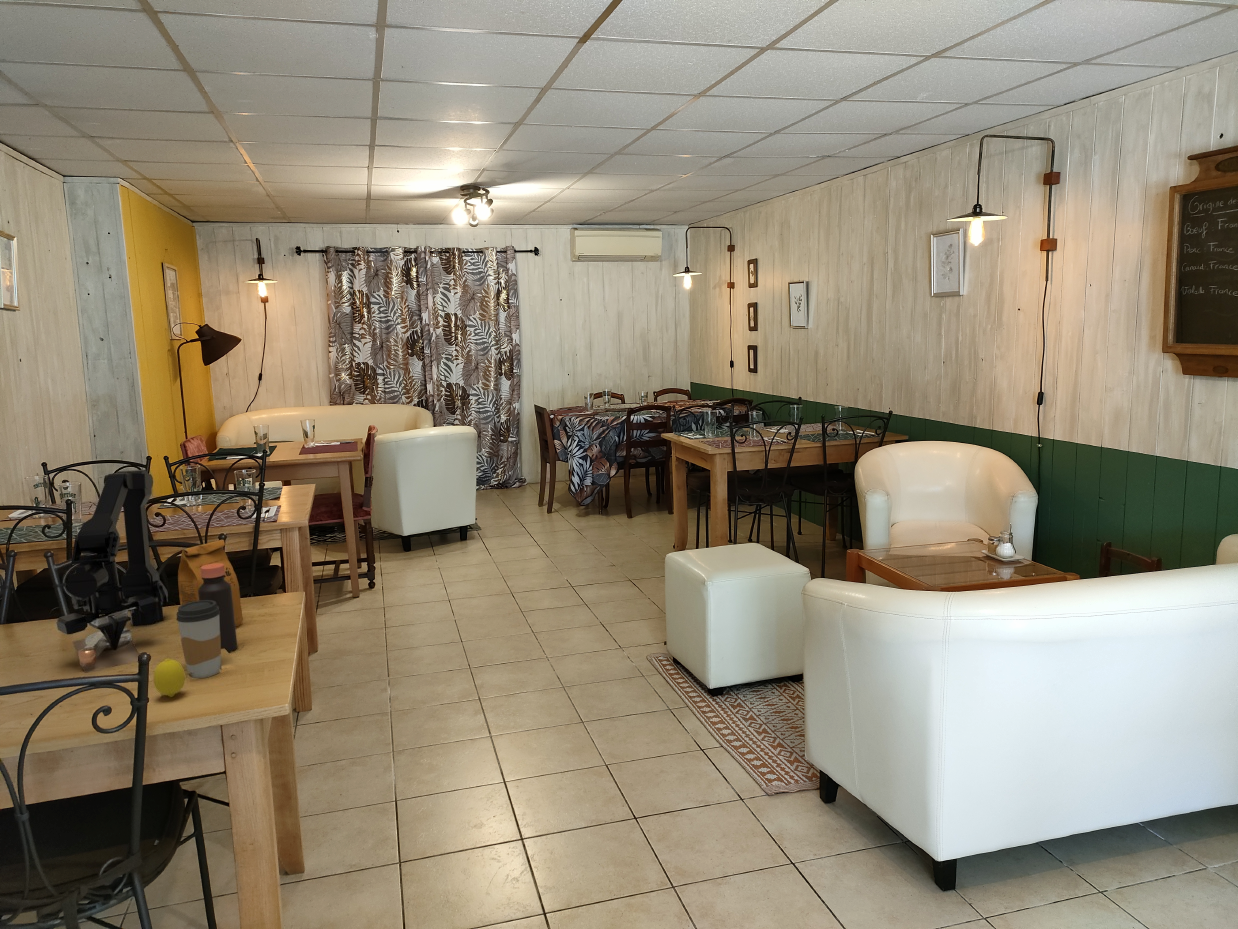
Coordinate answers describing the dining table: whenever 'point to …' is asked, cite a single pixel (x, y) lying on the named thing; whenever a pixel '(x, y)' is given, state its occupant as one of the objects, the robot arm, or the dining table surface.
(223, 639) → the bottle
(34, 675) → the dining table surface
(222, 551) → the coffee package
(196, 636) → the coffee cup
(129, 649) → the mounting board
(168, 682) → the lemon
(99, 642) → the pizza cutter
